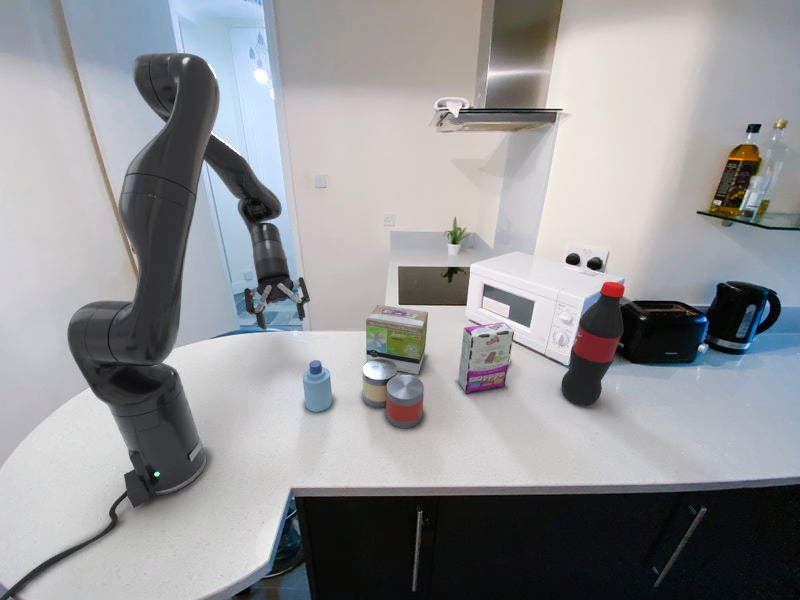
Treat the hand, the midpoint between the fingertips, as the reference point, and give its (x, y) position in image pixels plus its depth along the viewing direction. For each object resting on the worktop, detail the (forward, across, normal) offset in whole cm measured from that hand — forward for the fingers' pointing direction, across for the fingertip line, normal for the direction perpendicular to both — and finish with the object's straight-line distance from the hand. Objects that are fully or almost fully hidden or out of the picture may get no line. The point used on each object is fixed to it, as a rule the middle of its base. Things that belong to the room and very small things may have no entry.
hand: (283, 324), depth 74 cm
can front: (+27, +22, 0) cm, 35 cm away
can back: (+22, +18, +5) cm, 29 cm away
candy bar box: (+27, +44, +5) cm, 51 cm away
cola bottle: (+36, +64, -1) cm, 74 cm away
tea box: (+14, +26, +15) cm, 33 cm away
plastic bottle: (+19, +4, +5) cm, 20 cm away
